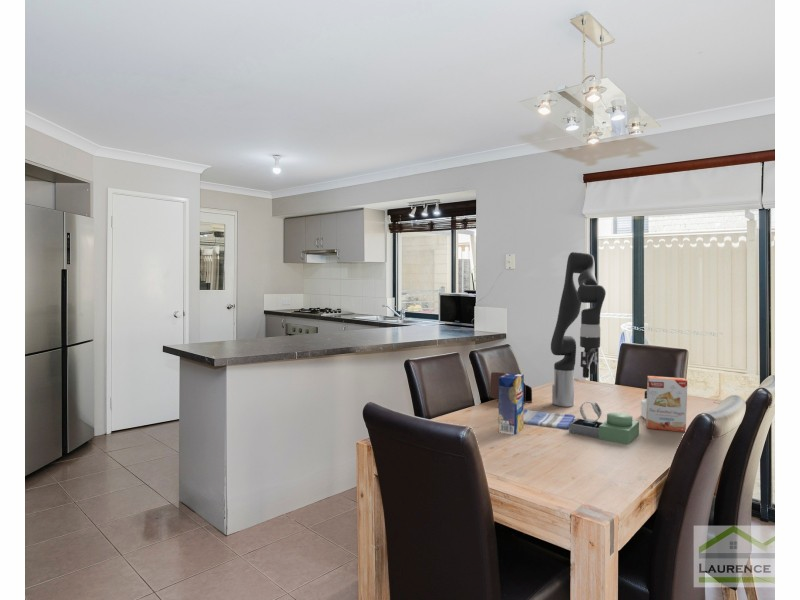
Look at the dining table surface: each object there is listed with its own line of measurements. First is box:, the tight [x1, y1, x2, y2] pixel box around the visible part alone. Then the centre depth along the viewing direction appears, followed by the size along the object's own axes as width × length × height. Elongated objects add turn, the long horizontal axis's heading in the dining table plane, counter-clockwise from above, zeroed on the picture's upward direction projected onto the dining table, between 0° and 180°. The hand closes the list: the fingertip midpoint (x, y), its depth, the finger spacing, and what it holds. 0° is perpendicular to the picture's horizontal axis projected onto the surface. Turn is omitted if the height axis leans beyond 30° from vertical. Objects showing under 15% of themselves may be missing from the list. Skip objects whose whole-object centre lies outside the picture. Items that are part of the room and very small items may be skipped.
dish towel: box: [523, 408, 577, 430], centre depth 218 cm, size 17×24×3 cm
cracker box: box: [645, 375, 688, 433], centre depth 206 cm, size 14×6×21 cm, turn 69°
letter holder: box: [489, 371, 533, 405], centre depth 255 cm, size 10×20×14 cm, turn 32°
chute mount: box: [568, 417, 605, 439], centre depth 201 cm, size 12×10×4 cm
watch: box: [579, 400, 603, 428], centre depth 202 cm, size 6×8×11 cm
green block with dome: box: [598, 412, 640, 445], centre depth 196 cm, size 11×16×8 cm
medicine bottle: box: [640, 390, 647, 421], centre depth 222 cm, size 7×7×12 cm
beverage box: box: [497, 372, 525, 436], centre depth 204 cm, size 7×11×22 cm, turn 150°
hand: (589, 375), depth 202 cm, fingers open, 8 cm apart
